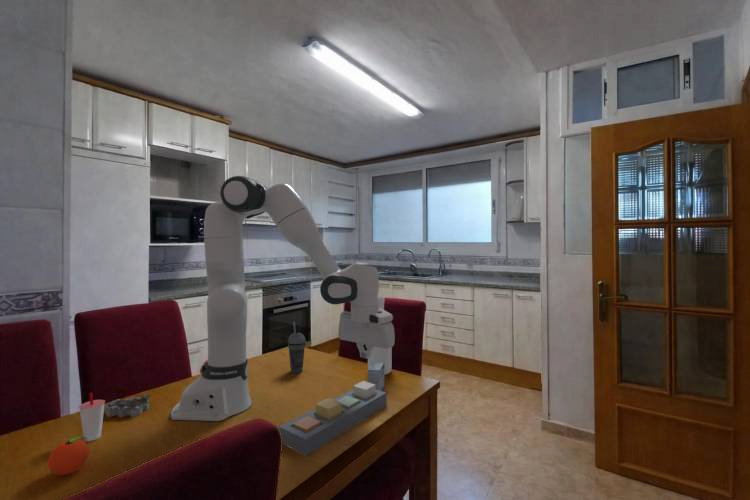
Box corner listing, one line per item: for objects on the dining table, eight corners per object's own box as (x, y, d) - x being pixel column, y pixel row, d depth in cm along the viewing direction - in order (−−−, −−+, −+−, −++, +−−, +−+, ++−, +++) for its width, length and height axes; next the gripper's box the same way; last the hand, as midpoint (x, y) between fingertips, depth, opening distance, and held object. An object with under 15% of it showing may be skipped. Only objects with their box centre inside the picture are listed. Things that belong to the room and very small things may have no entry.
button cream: (365, 401, 107) (365, 389, 107) (353, 396, 110) (353, 385, 110) (375, 395, 111) (375, 384, 111) (363, 391, 114) (363, 380, 114)
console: (305, 456, 85) (305, 439, 84) (278, 441, 91) (278, 426, 90) (386, 405, 112) (386, 392, 112) (362, 396, 118) (362, 384, 118)
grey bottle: (364, 369, 144) (364, 296, 144) (385, 366, 147) (386, 295, 147) (372, 377, 135) (373, 299, 135) (395, 374, 139) (395, 298, 138)
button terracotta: (306, 443, 88) (306, 429, 88) (292, 436, 91) (292, 423, 91) (320, 434, 92) (320, 421, 92) (307, 428, 95) (307, 415, 95)
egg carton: (153, 407, 110) (153, 394, 110) (136, 418, 103) (136, 404, 103) (119, 406, 111) (119, 393, 111) (100, 418, 103) (100, 404, 103)
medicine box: (380, 395, 119) (380, 370, 118) (367, 394, 119) (367, 369, 119) (384, 386, 126) (384, 362, 126) (372, 385, 127) (372, 361, 127)
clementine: (74, 458, 83) (73, 428, 83) (101, 460, 82) (101, 430, 82) (38, 481, 75) (38, 448, 75) (68, 483, 74) (68, 450, 74)
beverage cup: (303, 374, 138) (303, 323, 138) (285, 374, 138) (285, 323, 138) (307, 368, 145) (307, 319, 145) (290, 367, 145) (290, 319, 145)
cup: (75, 445, 88) (75, 398, 88) (83, 435, 93) (83, 390, 93) (101, 440, 91) (101, 394, 90) (108, 430, 96) (107, 386, 95)
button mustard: (328, 422, 94) (328, 409, 94) (315, 416, 97) (315, 404, 97) (341, 415, 98) (341, 402, 98) (328, 409, 101) (328, 397, 101)
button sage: (348, 418, 101) (348, 406, 101) (335, 413, 104) (335, 401, 104) (359, 411, 105) (359, 400, 105) (346, 407, 108) (346, 395, 108)
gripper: (333, 311, 114) (334, 354, 114) (385, 319, 102) (385, 367, 102) (346, 308, 119) (346, 349, 119) (397, 315, 107) (397, 361, 107)
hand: (365, 357), depth 111 cm, fingers closed
